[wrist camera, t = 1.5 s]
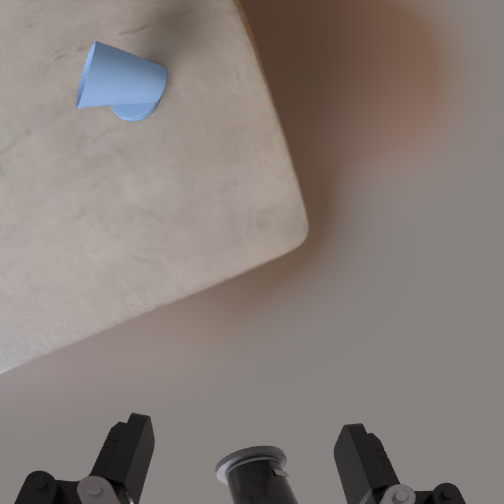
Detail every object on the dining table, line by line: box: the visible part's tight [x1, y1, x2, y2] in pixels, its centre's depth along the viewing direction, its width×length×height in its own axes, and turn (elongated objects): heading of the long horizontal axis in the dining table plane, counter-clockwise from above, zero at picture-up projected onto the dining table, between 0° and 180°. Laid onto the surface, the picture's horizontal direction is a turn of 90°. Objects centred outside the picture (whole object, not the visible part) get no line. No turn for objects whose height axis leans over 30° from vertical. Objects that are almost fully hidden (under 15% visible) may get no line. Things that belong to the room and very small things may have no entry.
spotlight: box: [76, 41, 167, 121], centre depth 18 cm, size 5×10×7 cm
